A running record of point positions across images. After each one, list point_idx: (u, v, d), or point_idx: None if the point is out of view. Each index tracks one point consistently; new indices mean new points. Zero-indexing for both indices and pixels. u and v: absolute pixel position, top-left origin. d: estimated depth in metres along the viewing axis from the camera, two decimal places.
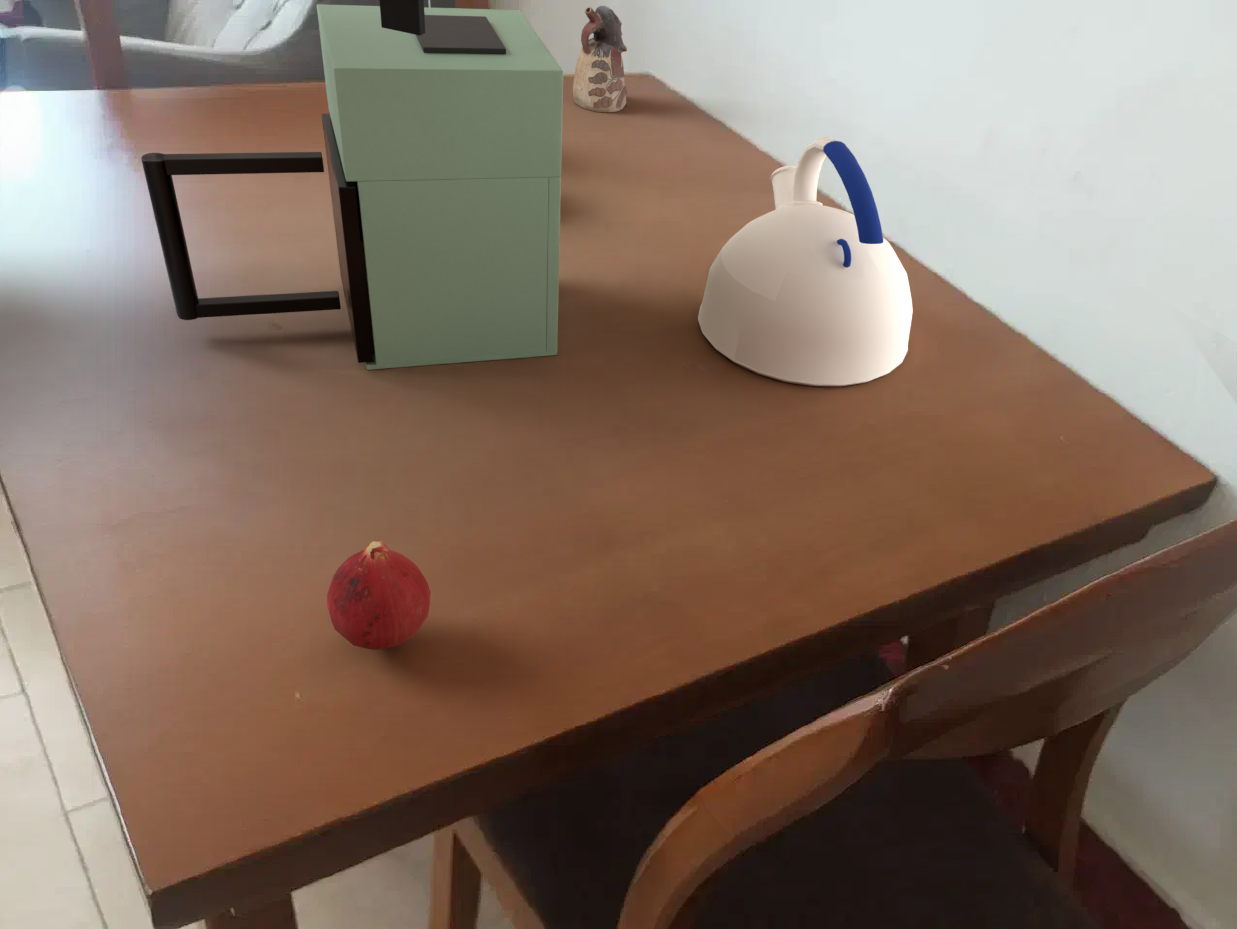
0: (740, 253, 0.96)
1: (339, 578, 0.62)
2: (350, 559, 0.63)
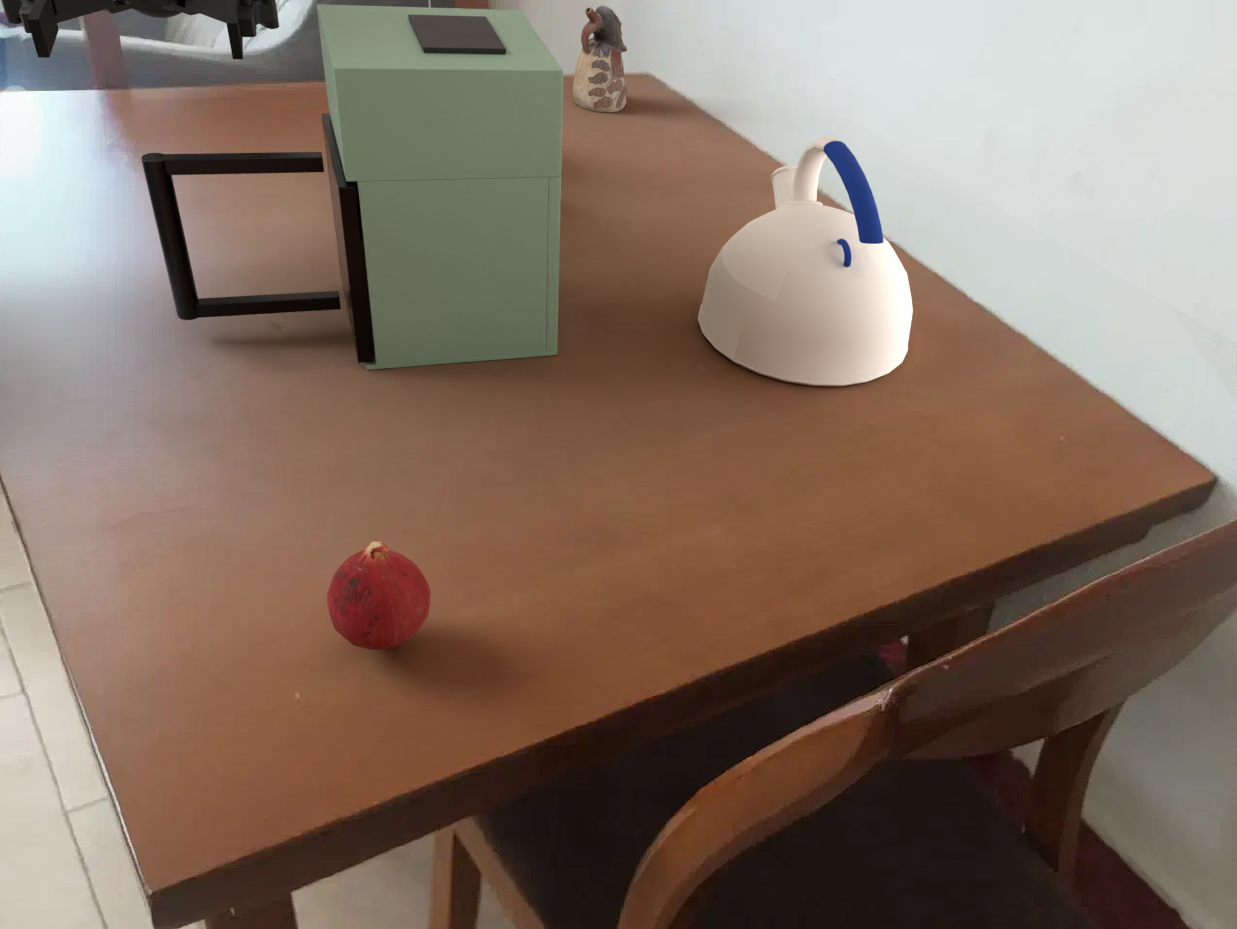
0: (740, 253, 0.96)
1: (339, 578, 0.62)
2: (350, 559, 0.63)
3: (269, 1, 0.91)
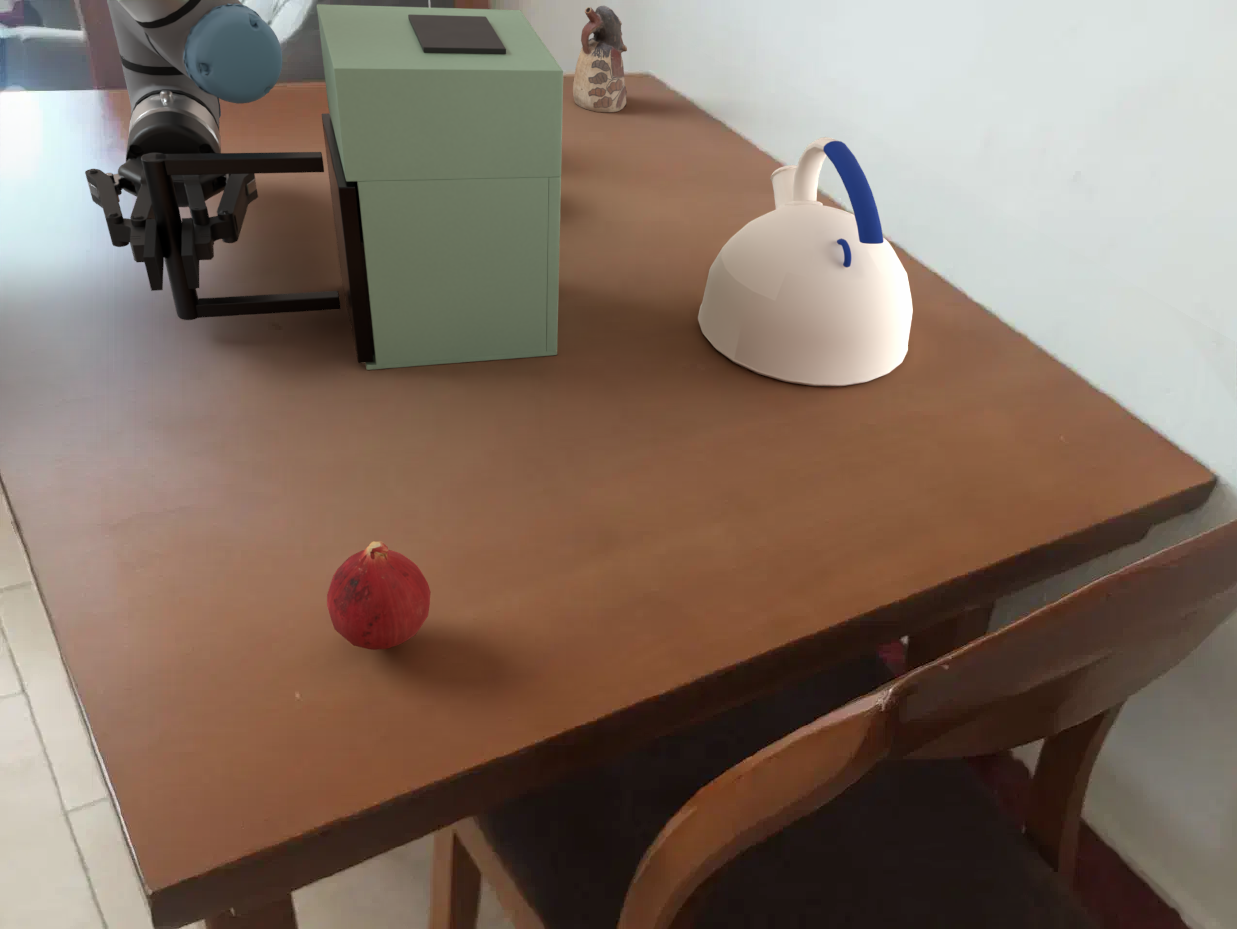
0: (740, 253, 0.96)
1: (339, 578, 0.62)
2: (350, 559, 0.63)
3: (222, 217, 0.87)
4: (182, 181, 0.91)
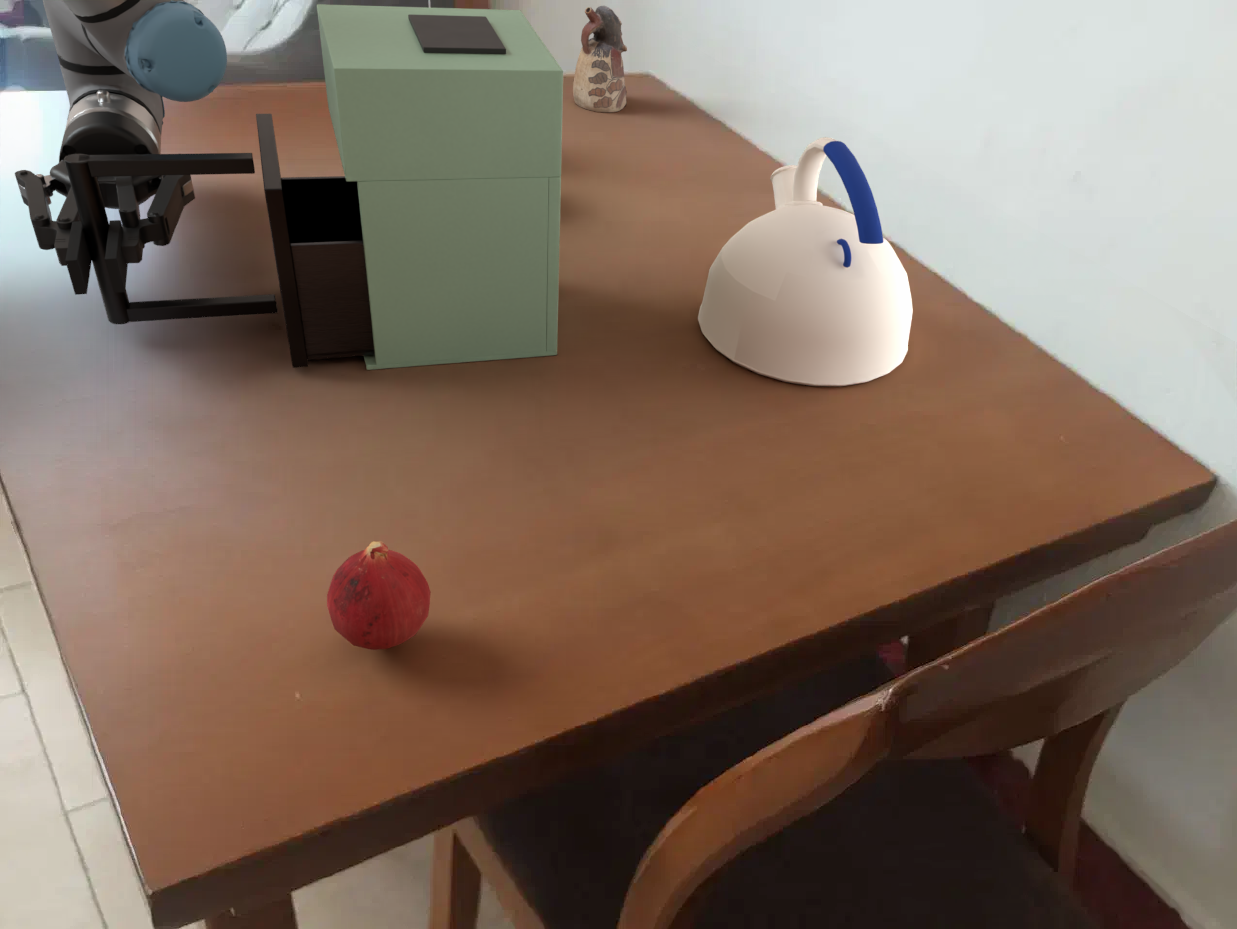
0: (740, 253, 0.96)
1: (339, 578, 0.62)
2: (350, 559, 0.63)
3: (152, 220, 0.85)
4: (114, 182, 0.89)
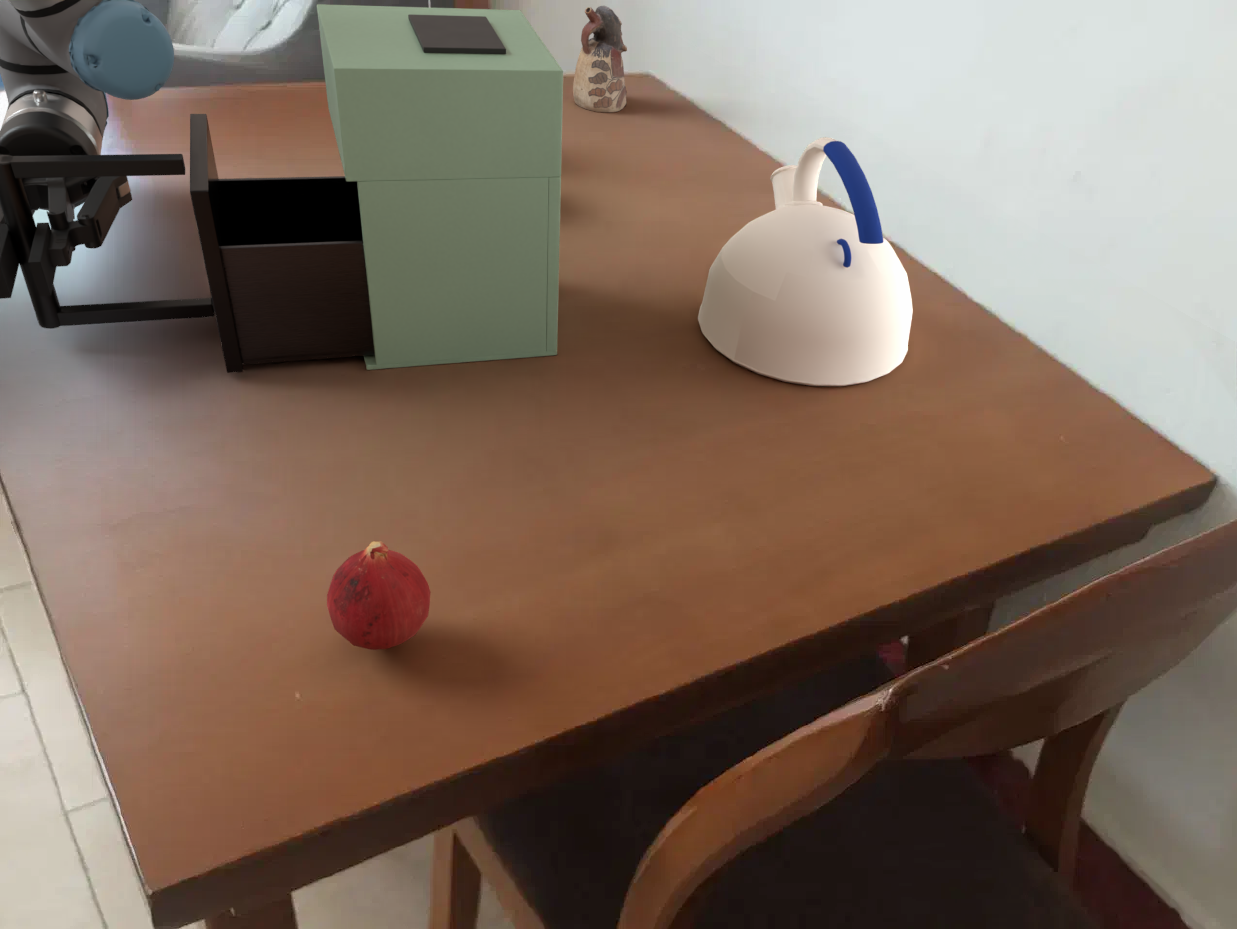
0: (740, 253, 0.96)
1: (339, 578, 0.62)
2: (350, 559, 0.63)
3: (82, 222, 0.83)
4: (47, 184, 0.87)
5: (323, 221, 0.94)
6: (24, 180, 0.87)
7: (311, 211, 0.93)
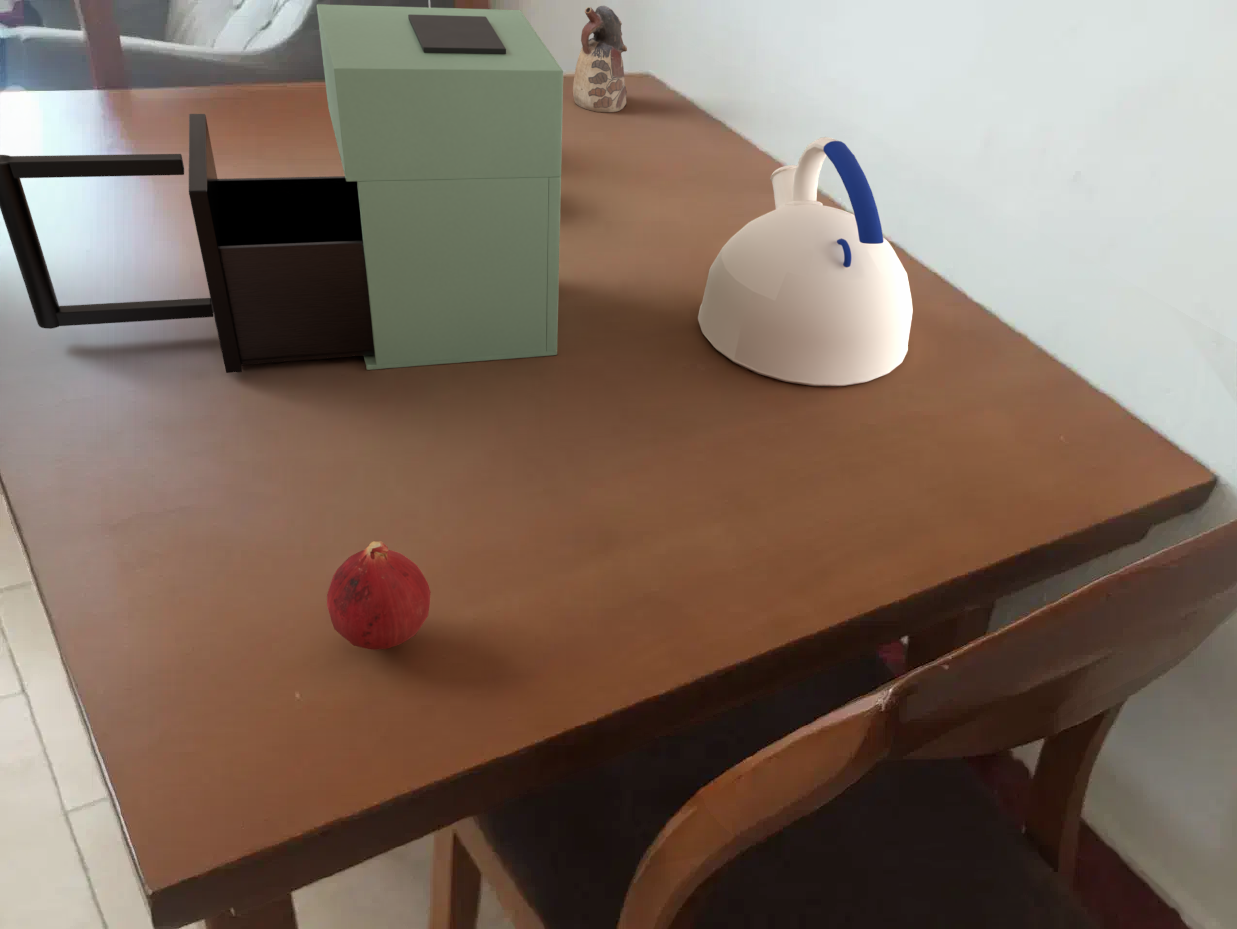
0: (740, 253, 0.96)
1: (339, 578, 0.62)
2: (350, 559, 0.63)
3: None
4: None
5: (322, 221, 0.94)
6: None
7: (310, 211, 0.93)
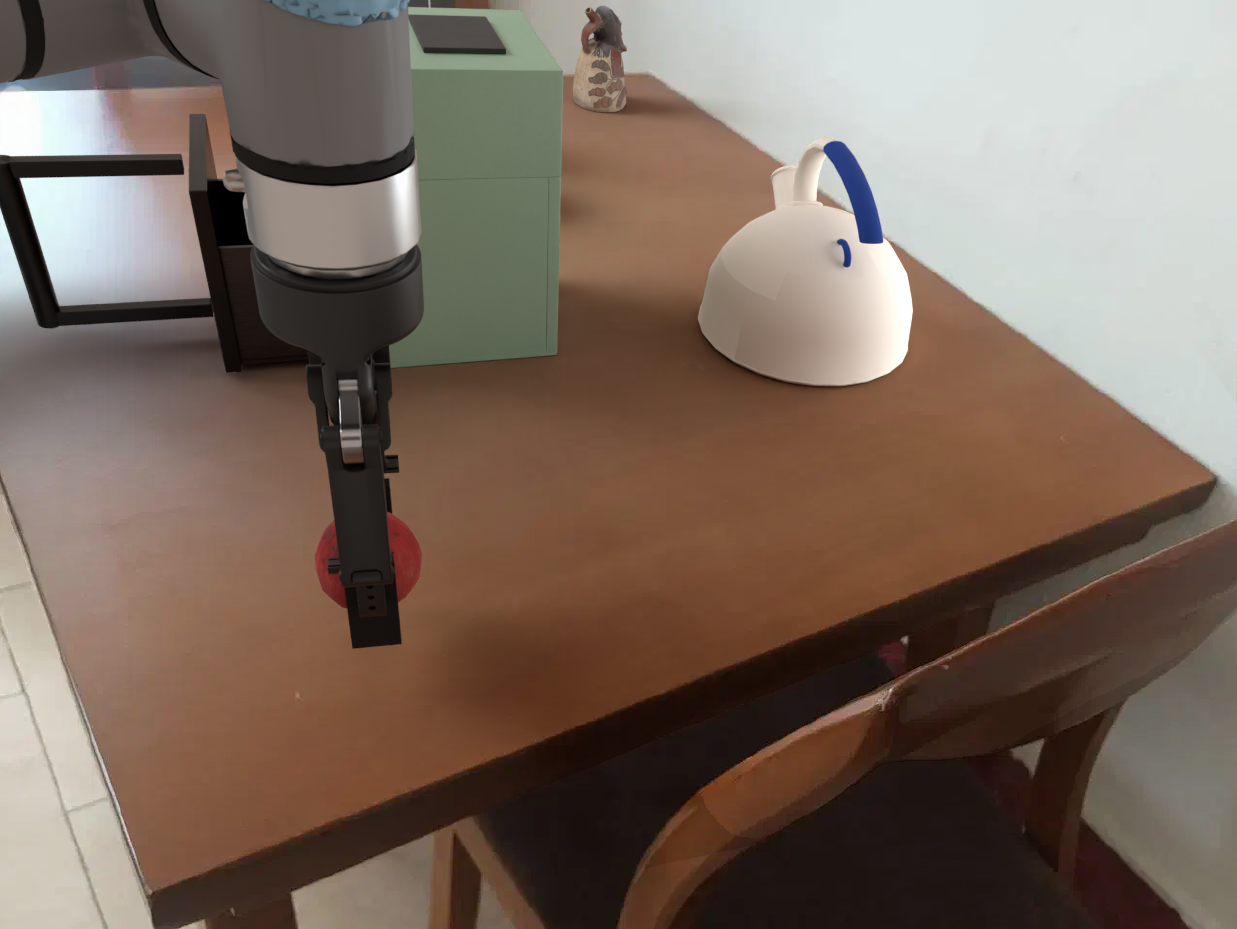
0: (740, 253, 0.96)
1: (328, 537, 0.60)
2: None
3: None
4: None
5: None
6: None
7: None
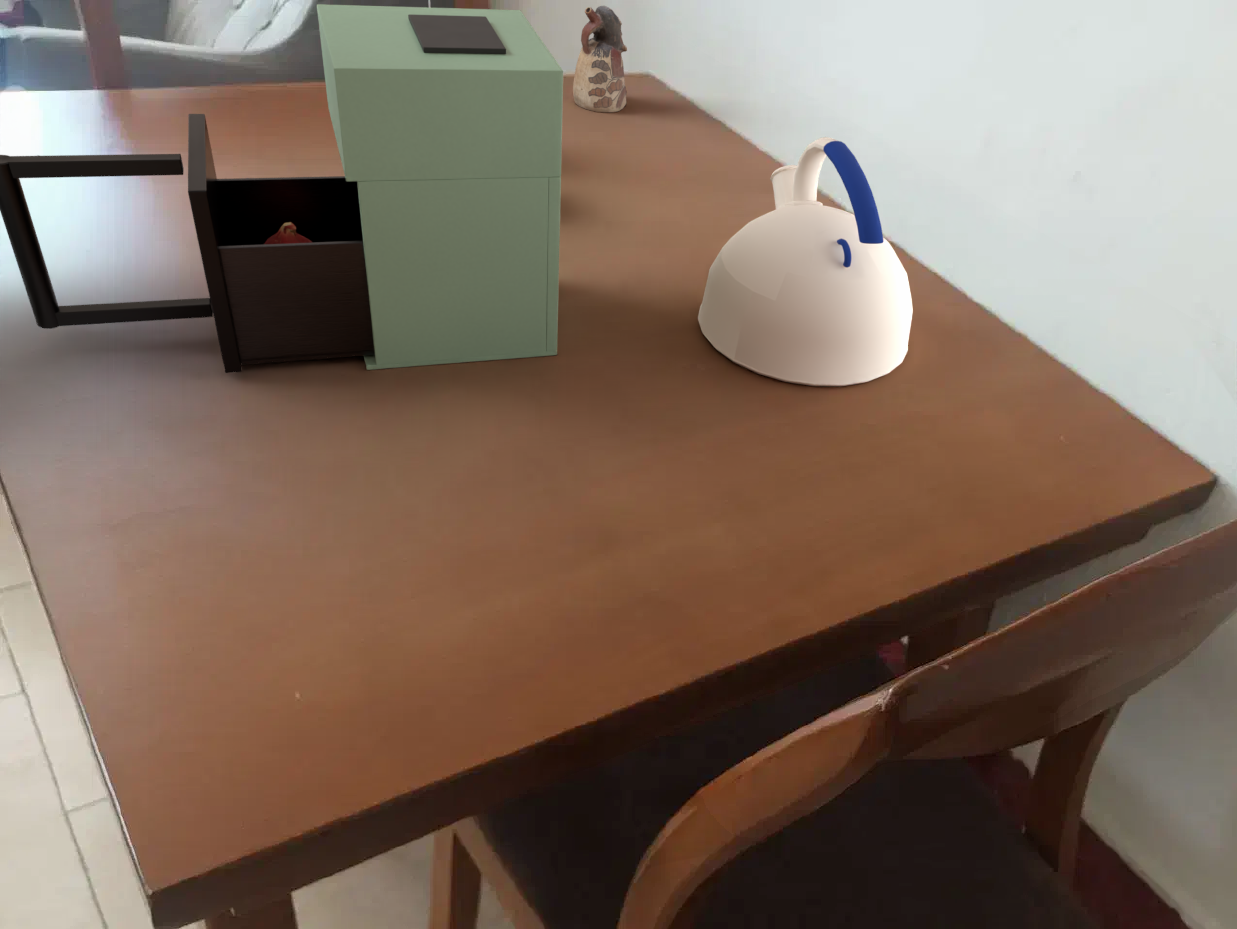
0: (740, 253, 0.96)
1: None
2: (270, 237, 0.88)
3: None
4: None
5: (321, 221, 0.94)
6: None
7: (309, 211, 0.93)
